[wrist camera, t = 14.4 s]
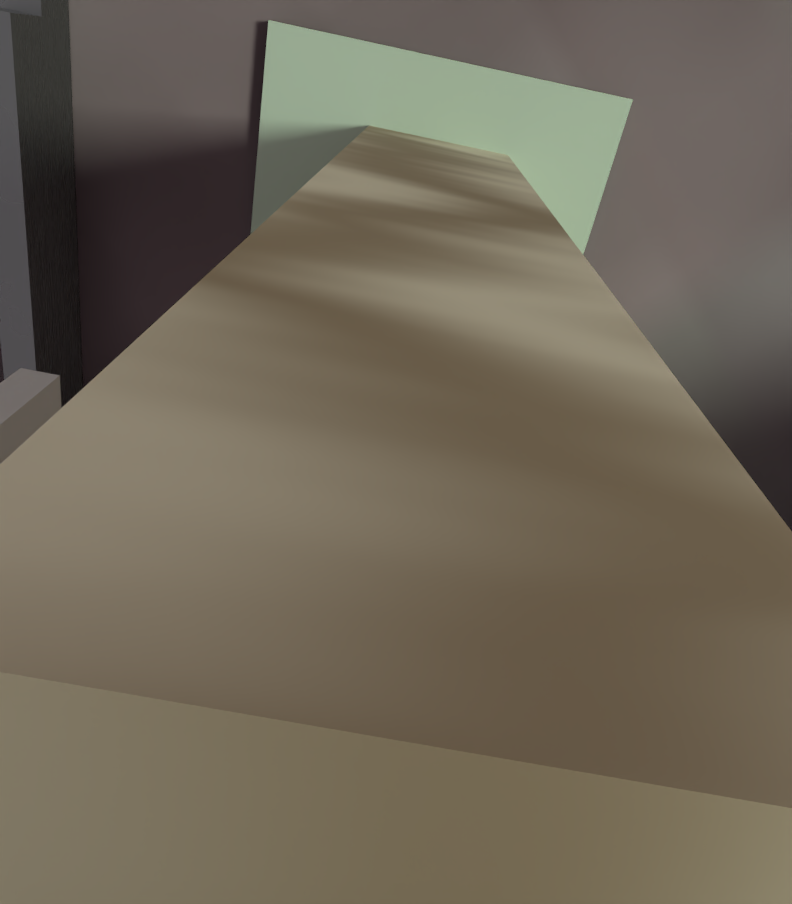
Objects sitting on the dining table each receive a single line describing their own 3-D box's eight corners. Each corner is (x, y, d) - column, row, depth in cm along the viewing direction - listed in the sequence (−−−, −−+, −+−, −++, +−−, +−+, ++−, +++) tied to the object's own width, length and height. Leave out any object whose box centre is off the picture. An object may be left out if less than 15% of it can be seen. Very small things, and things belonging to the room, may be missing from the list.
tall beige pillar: (507, 154, 20) (1030, 849, 2) (421, 501, 26) (386, 1435, 8) (368, 125, 20) (-191, 640, 2) (314, 481, 25) (44, 1393, 8)
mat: (629, 98, 19) (632, 99, 19) (485, 551, 27) (485, 558, 27) (271, 20, 19) (268, 20, 18) (230, 504, 27) (227, 510, 26)
